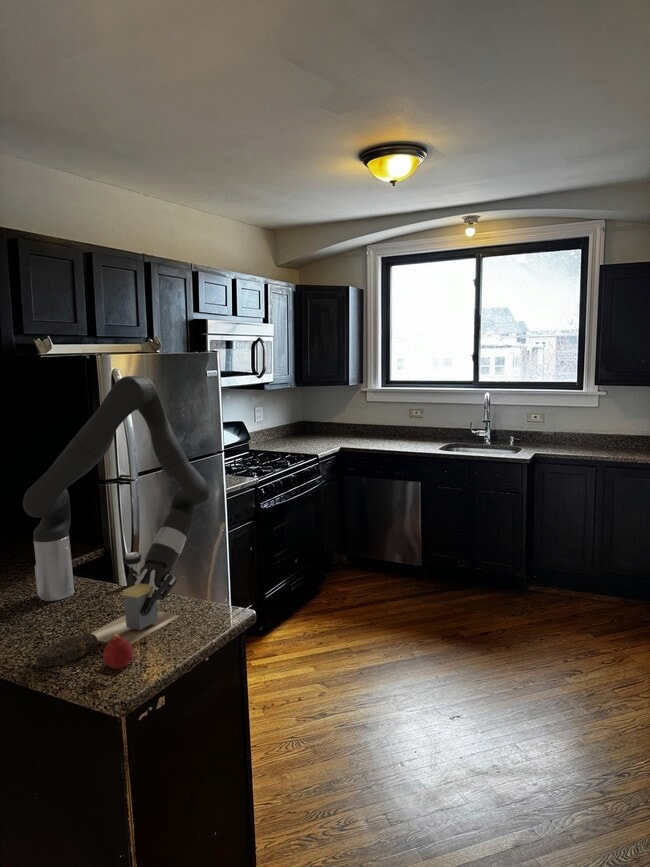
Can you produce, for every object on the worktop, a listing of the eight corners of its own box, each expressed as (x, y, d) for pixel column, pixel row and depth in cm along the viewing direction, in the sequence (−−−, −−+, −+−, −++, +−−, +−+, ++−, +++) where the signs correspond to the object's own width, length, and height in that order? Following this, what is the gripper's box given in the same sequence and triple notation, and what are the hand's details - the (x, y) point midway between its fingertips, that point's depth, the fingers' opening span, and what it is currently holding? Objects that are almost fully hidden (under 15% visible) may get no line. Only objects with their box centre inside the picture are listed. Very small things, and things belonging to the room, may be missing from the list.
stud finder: (126, 627, 141) (122, 590, 140) (144, 617, 146) (141, 581, 145) (140, 630, 139) (136, 592, 138) (158, 619, 144) (155, 584, 143)
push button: (120, 585, 177) (118, 553, 176) (138, 580, 181) (135, 549, 180) (129, 591, 172) (126, 557, 171) (146, 586, 175) (143, 553, 174)
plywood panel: (83, 641, 139) (83, 636, 139) (139, 612, 155) (138, 607, 155) (127, 651, 133) (126, 645, 133) (180, 620, 149) (180, 615, 149)
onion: (126, 661, 129) (123, 625, 128) (139, 669, 124) (135, 633, 124) (100, 671, 125) (97, 635, 124) (112, 680, 120) (109, 643, 120)
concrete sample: (104, 649, 135) (102, 628, 135) (80, 671, 125) (77, 648, 125) (59, 648, 137) (57, 627, 137) (31, 669, 127) (28, 647, 127)
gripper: (136, 539, 151) (104, 602, 141) (180, 544, 144) (148, 610, 135) (153, 553, 156) (122, 615, 146) (195, 558, 149) (166, 623, 140)
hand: (135, 612), depth 141 cm, fingers closed on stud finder, 4 cm apart
